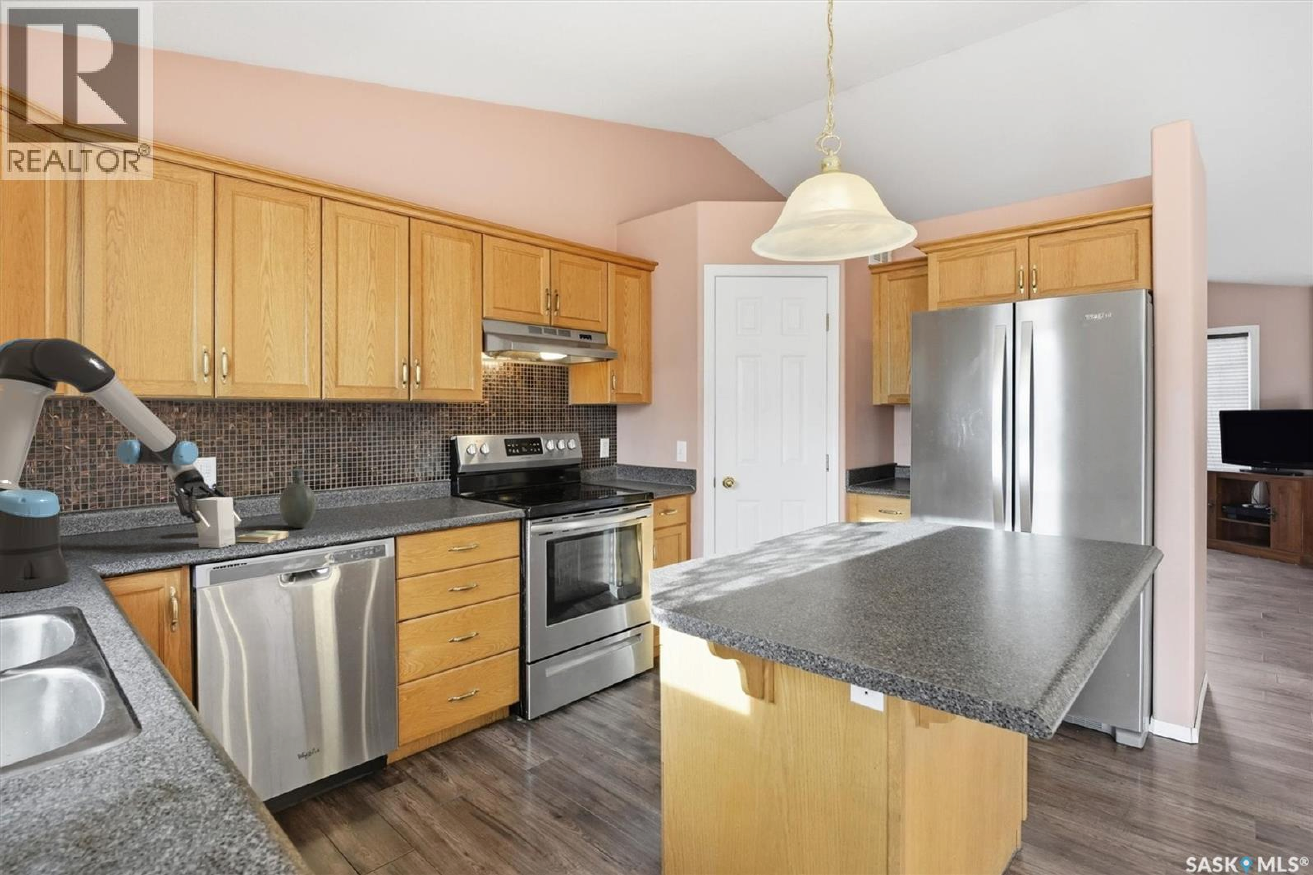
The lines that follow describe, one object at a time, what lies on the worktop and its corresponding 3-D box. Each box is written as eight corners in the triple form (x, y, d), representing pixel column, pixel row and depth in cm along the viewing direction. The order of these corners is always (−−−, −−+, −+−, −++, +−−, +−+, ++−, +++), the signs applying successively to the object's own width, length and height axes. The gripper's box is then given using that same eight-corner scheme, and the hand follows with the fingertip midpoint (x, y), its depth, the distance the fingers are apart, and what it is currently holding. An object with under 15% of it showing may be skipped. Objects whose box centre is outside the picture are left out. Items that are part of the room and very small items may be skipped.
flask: (282, 532, 234) (280, 471, 233) (278, 525, 248) (277, 467, 247) (318, 529, 240) (317, 469, 239) (313, 522, 254) (312, 466, 254)
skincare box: (235, 544, 213) (234, 497, 212) (218, 548, 206) (216, 499, 206) (214, 543, 215) (213, 496, 214) (196, 547, 208) (195, 498, 208)
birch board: (267, 543, 215) (267, 536, 215) (235, 542, 216) (235, 536, 216) (288, 536, 226) (288, 530, 226) (258, 536, 227) (258, 530, 227)
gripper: (212, 480, 225) (248, 528, 221) (143, 487, 204) (182, 540, 200) (223, 465, 223) (260, 513, 219) (155, 471, 202) (194, 524, 198)
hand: (223, 526), depth 209 cm, fingers open, 10 cm apart
